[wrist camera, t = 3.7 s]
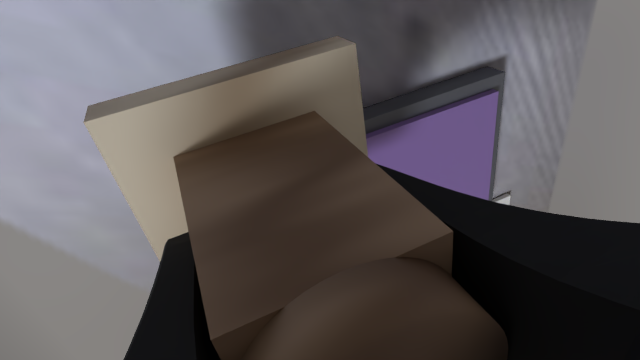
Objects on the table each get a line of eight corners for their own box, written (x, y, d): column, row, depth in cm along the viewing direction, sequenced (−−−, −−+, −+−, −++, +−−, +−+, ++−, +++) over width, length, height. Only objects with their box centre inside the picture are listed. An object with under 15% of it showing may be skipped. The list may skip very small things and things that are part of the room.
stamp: (333, 34, 12) (619, 151, 5) (358, 213, 16) (537, 420, 9) (89, 101, 10) (-3, 427, 3) (184, 283, 14) (235, 609, 7)
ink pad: (487, 66, 21) (511, 73, 20) (477, 200, 26) (495, 213, 25) (335, 117, 19) (350, 130, 17) (356, 253, 24) (369, 270, 22)
